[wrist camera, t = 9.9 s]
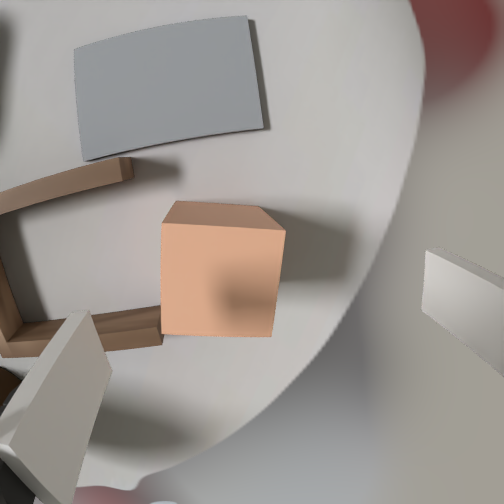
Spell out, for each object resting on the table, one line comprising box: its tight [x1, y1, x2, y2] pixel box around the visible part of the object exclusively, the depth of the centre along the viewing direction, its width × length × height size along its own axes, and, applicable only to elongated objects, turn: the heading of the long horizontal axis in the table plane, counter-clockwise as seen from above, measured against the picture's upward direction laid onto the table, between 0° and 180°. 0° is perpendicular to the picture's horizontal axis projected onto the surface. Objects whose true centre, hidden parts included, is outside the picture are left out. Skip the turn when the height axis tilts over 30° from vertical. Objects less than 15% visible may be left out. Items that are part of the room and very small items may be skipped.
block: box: [161, 201, 286, 337], centre depth 20 cm, size 6×6×8 cm
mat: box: [74, 16, 264, 161], centre depth 19 cm, size 9×13×1 cm
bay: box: [0, 157, 164, 358], centre depth 20 cm, size 13×16×4 cm
